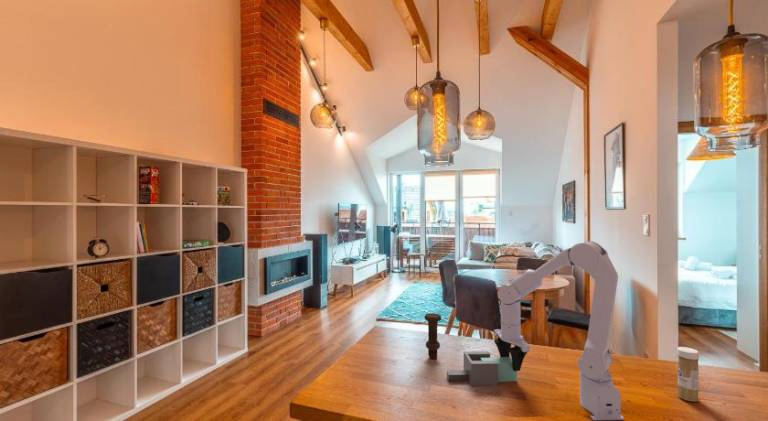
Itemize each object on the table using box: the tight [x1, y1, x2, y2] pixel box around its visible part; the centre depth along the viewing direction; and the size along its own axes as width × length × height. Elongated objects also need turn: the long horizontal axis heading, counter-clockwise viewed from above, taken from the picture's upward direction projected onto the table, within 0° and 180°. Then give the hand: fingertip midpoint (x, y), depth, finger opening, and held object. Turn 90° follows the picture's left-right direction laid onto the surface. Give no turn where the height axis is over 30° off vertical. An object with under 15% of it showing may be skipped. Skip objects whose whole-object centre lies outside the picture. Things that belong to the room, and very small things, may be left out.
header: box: [446, 350, 499, 387], centre depth 109 cm, size 9×14×7 cm, turn 92°
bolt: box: [424, 312, 442, 360], centre depth 124 cm, size 6×5×15 cm
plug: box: [480, 356, 518, 383], centre depth 109 cm, size 4×10×6 cm, turn 94°
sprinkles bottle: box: [676, 346, 700, 403], centre depth 97 cm, size 5×5×14 cm
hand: (510, 366), depth 109 cm, fingers open, 5 cm apart
